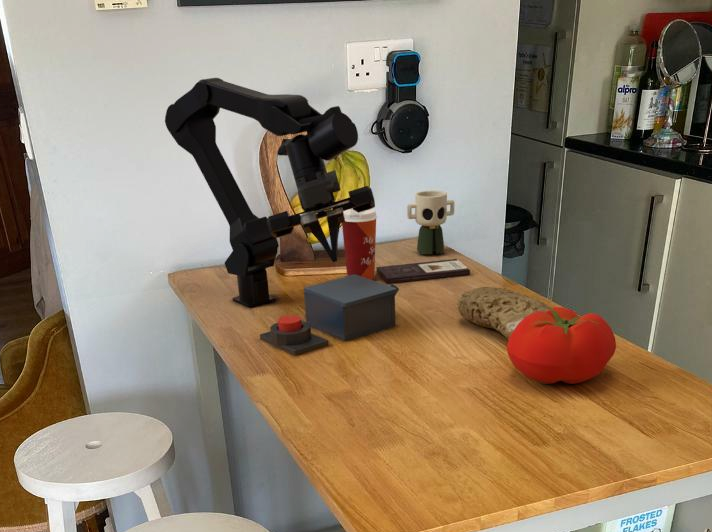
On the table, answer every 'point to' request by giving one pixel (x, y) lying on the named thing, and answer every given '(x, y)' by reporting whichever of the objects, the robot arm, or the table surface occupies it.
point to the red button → (289, 323)
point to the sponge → (498, 308)
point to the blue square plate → (350, 290)
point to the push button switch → (294, 339)
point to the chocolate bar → (422, 270)
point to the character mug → (430, 219)
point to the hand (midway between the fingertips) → (334, 261)
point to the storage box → (350, 316)
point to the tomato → (561, 346)
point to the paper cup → (360, 242)
